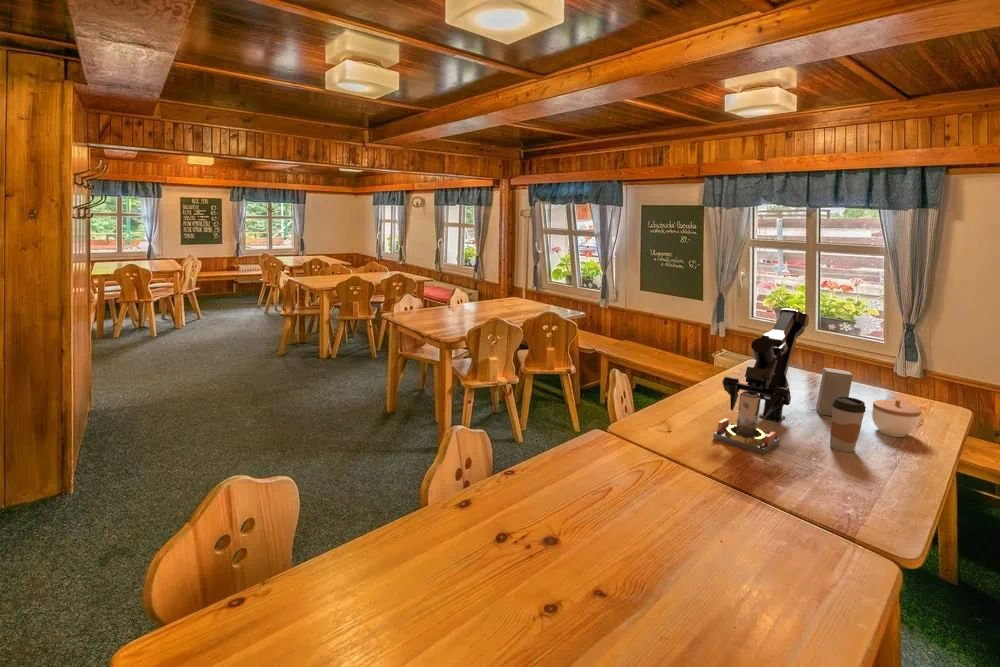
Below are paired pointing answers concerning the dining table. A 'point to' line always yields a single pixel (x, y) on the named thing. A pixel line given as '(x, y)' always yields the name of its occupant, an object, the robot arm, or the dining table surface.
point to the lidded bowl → (895, 417)
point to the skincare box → (832, 389)
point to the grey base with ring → (746, 438)
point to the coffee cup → (846, 423)
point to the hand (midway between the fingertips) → (747, 413)
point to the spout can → (748, 414)
